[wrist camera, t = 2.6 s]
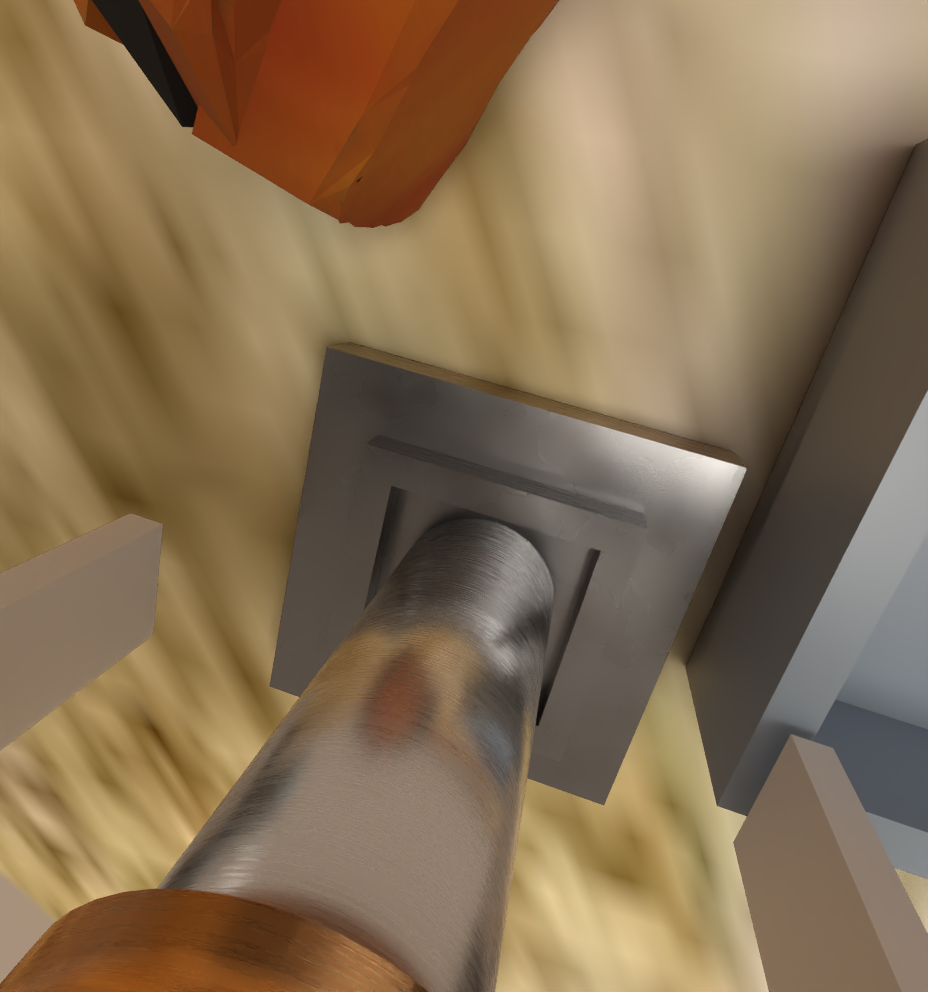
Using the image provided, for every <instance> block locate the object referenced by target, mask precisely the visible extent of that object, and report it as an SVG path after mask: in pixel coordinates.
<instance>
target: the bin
mask: <svg viewBox="0 0 928 992" xmlns="http://www.w3.org/2000/svg"><path fill="white" fill-rule="evenodd" d="M686 672H687V676H688V681H689V685H690V689H691V694H692V698H693V703H694V707H695V711H696V716H697V720H698V724H699V729H700V733H701V738H702V742H703V746H704V751H705V755H706V760H707V764H708V768H709V773H710V777H711V782H712V786H713V790H714V795H715V799H716V804H717V806H719V807H722V808H725V809H728V810H731V811H733V812H736V813H739V814H742V815H745V816H748V814H749V812H750V810H751V808H752V806H753V804H754V803H755V801H756V799H757V797H758V795H759V793H760V791H761V789H762V788H763V786H764V784H765V782H766V780H767V778H768V776H769V774H770V773H771V771H772V769H773V767H774V765H775V763H776V761H777V759H778V757H779V756H780V754H781V752H782V750H783V748H784V746H785V744H786V742H787V741H788V739H789V737H790V735H791V734H792V735H795V736H798V737H801V738H804V739H807V740H810V741H813V742H816V743H819V744H822V745H825V746H828V747H831V748H833V749H834V751H835V753H836V755H837V757H838V759H839V761H840V763H841V765H842V767H843V769H844V770H845V772H846V774H847V776H848V778H849V780H850V782H851V784H852V786H853V788H854V790H855V792H856V794H857V796H858V798H859V800H860V802H861V804H862V806H863V808H864V810H865V812H866V814H867V816H868V818H869V820H870V822H871V824H872V825H873V827H874V829H875V831H876V833H877V835H878V837H879V839H880V841H881V843H882V845H883V847H884V849H885V851H886V853H887V855H888V857H889V859H890V861H891V863H892V865H893V867H894V868H897V869H900V870H903V871H905V872H908V873H911V874H914V875H917V876H920V877H923V878H926V879H928V139H927V140H925V141H923V142H921V143H919V144H916V146H915V148H914V150H913V152H912V155H911V157H910V159H909V161H908V164H907V166H906V168H905V171H904V173H903V175H902V177H901V180H900V182H899V184H898V186H897V189H896V191H895V193H894V196H893V198H892V200H891V202H890V205H889V207H888V209H887V211H886V214H885V216H884V218H883V221H882V223H881V225H880V227H879V230H878V232H877V234H876V236H875V239H874V241H873V243H872V246H871V248H870V250H869V252H868V255H867V257H866V259H865V261H864V264H863V266H862V268H861V270H860V273H859V275H858V277H857V280H856V282H855V284H854V286H853V289H852V291H851V293H850V295H849V298H848V300H847V302H846V305H845V307H844V309H843V311H842V314H841V316H840V318H839V320H838V323H837V325H836V327H835V330H834V332H833V334H832V336H831V339H830V341H829V343H828V345H827V348H826V350H825V352H824V355H823V357H822V359H821V361H820V364H819V366H818V368H817V370H816V373H815V375H814V377H813V380H812V382H811V384H810V386H809V389H808V391H807V393H806V395H805V398H804V400H803V402H802V404H801V407H800V409H799V411H798V414H797V416H796V418H795V420H794V423H793V425H792V427H791V429H790V432H789V434H788V436H787V439H786V441H785V443H784V445H783V448H782V450H781V452H780V454H779V457H778V459H777V461H776V464H775V466H774V468H773V470H772V473H771V475H770V477H769V479H768V482H767V484H766V486H765V489H764V491H763V493H762V495H761V498H760V500H759V502H758V504H757V507H756V509H755V511H754V514H753V516H752V518H751V520H750V523H749V525H748V527H747V529H746V532H745V534H744V536H743V538H742V541H741V543H740V545H739V548H738V550H737V552H736V554H735V557H734V559H733V561H732V563H731V566H730V568H729V570H728V573H727V575H726V577H725V579H724V582H723V584H722V586H721V588H720V591H719V593H718V595H717V598H716V600H715V602H714V604H713V607H712V609H711V611H710V613H709V616H708V618H707V620H706V623H705V625H704V627H703V629H702V632H701V634H700V636H699V638H698V641H697V643H696V645H695V648H694V650H693V652H692V654H691V657H690V659H689V661H688V663H687V666H686Z"/></svg>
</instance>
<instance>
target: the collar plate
mask: <svg viewBox="0 0 928 992" xmlns="http://www.w3.org/2000/svg"><path fill="white" fill-rule="evenodd" d="M746 470H747V467H746V466H745V465H744V464H743V463H742V461H741V460H740V459H739V458H738V457H737V455H736V454H735V453H734V452H731V451H728V450H724V449H721V448H717V447H714V446H710V445H707V444H703V443H700V442H696V441H693V440H689V439H686V438H682V437H679V436H675V435H672V434H668V433H665V432H661V431H658V430H654V429H651V428H647V427H644V426H640V425H637V424H633V423H630V422H626V421H623V420H619V419H616V418H612V417H609V416H605V415H602V414H598V413H595V412H591V411H588V410H584V409H581V408H577V407H574V406H570V405H567V404H563V403H560V402H556V401H553V400H549V399H546V398H542V397H539V396H535V395H532V394H528V393H525V392H521V391H518V390H514V389H511V388H507V387H504V386H500V385H497V384H493V383H490V382H486V381H483V380H479V379H476V378H472V377H469V376H465V375H462V374H458V373H455V372H451V371H448V370H444V369H441V368H437V367H434V366H430V365H427V364H423V363H420V362H416V361H413V360H410V359H406V358H403V357H399V356H396V355H392V354H389V353H385V352H382V351H378V350H375V349H371V348H368V347H364V346H361V345H357V344H354V343H345V344H340V345H335V346H329V347H327V349H326V355H325V361H324V367H323V373H322V378H321V384H320V390H319V396H318V402H317V408H316V414H315V420H314V426H313V432H312V438H311V444H310V450H309V456H308V462H307V467H306V473H305V479H304V485H303V491H302V497H301V503H300V509H299V515H298V521H297V527H296V533H295V539H294V545H293V551H292V557H291V562H290V568H289V574H288V580H287V586H286V592H285V598H284V604H283V610H282V616H281V622H280V628H279V634H278V640H277V646H276V651H275V657H274V663H273V669H272V675H271V681H270V687H273V688H276V689H279V690H281V691H284V692H287V693H290V694H293V695H295V696H298V697H300V696H301V695H302V693H303V692H304V691H305V689H306V688H307V687H308V685H309V684H310V683H311V681H312V680H313V679H314V677H315V676H316V675H317V673H318V672H319V671H320V669H321V668H322V667H323V665H324V664H325V662H326V661H327V660H328V658H329V657H330V656H331V654H332V653H333V652H334V650H335V649H336V648H337V646H338V645H339V644H340V642H341V641H342V640H343V638H344V637H345V636H346V634H347V633H348V632H349V630H350V629H351V628H352V626H353V625H354V624H355V622H356V621H357V620H358V618H359V617H360V616H361V614H362V613H363V611H364V610H365V609H366V607H367V606H368V605H369V603H370V602H371V601H372V599H373V598H374V597H375V595H376V594H377V593H378V591H379V590H380V589H381V587H382V586H383V585H384V583H385V582H386V581H387V579H388V578H389V577H390V575H391V574H392V573H393V571H394V570H395V569H396V567H397V566H398V565H399V563H400V562H401V560H402V559H403V558H404V556H405V555H406V554H407V552H408V551H409V550H410V548H411V547H412V546H413V544H414V543H415V542H416V541H417V540H418V539H419V538H420V537H421V536H422V535H424V534H425V533H426V532H427V531H429V530H431V529H432V528H434V527H436V526H438V525H440V524H443V523H445V522H449V521H453V520H459V519H481V520H487V521H491V522H495V523H498V524H501V525H503V526H506V527H508V528H510V529H511V530H513V531H515V532H517V533H518V534H519V535H521V536H522V537H524V538H525V539H526V540H527V541H528V542H529V543H530V544H532V546H533V547H534V548H535V549H536V550H537V551H538V553H539V554H540V556H541V557H542V558H543V560H544V562H545V564H546V566H547V568H548V570H549V573H550V576H551V579H552V583H553V589H554V603H553V611H552V617H551V624H550V631H549V637H548V644H547V651H546V657H545V664H544V670H543V677H542V684H541V690H540V697H539V704H538V710H537V717H536V724H535V730H534V737H533V743H532V750H531V757H530V763H529V770H528V777H527V778H529V779H531V780H534V781H537V782H540V783H543V784H546V785H548V786H551V787H554V788H557V789H560V790H562V791H565V792H568V793H571V794H574V795H576V796H579V797H582V798H585V799H588V800H590V801H593V802H596V803H599V804H602V805H604V804H605V801H606V799H607V797H608V794H609V792H610V790H611V787H612V785H613V783H614V780H615V778H616V776H617V773H618V771H619V769H620V766H621V764H622V761H623V759H624V757H625V754H626V752H627V750H628V747H629V745H630V743H631V740H632V738H633V736H634V733H635V731H636V729H637V726H638V724H639V721H640V719H641V717H642V714H643V712H644V710H645V707H646V705H647V703H648V700H649V698H650V696H651V693H652V691H653V689H654V686H655V684H656V681H657V679H658V677H659V674H660V672H661V670H662V667H663V665H664V663H665V660H666V658H667V656H668V653H669V651H670V649H671V646H672V644H673V641H674V639H675V637H676V634H677V632H678V630H679V627H680V625H681V623H682V620H683V618H684V616H685V613H686V611H687V609H688V606H689V604H690V601H691V599H692V597H693V594H694V592H695V590H696V587H697V585H698V583H699V580H700V578H701V576H702V573H703V571H704V569H705V566H706V564H707V561H708V559H709V557H710V554H711V552H712V550H713V547H714V545H715V543H716V540H717V538H718V536H719V533H720V531H721V529H722V526H723V524H724V521H725V519H726V517H727V514H728V512H729V510H730V507H731V505H732V503H733V500H734V498H735V496H736V493H737V491H738V489H739V486H740V484H741V481H742V479H743V477H744V474H745V472H746Z"/></svg>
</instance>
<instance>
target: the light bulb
mask: <svg viewBox="0 0 928 992" xmlns="http://www.w3.org/2000/svg"><path fill="white" fill-rule="evenodd" d="M553 603H554V589H553V583H552V579H551V576H550V573H549V570H548V568H547V566H546V564H545V562H544V560H543V558H542V557H541V556H540V554H539V553H538V551H537V550H536V549H535V548H534V547H533V546H532V544H530V543H529V542H528V541H527V540H526V539H525V538H524V537H522V536H521V535H519V534H518V533H517V532H515V531H513V530H511V529H510V528H508V527H506V526H503V525H501V524H498V523H495V522H491V521H487V520H481V519H459V520H453V521H449V522H445V523H443V524H440V525H438V526H436V527H434V528H432V529H431V530H429V531H427V532H426V533H425V534H424V535H422V536H421V537H420V538H419V539H418V540H417V541H416V542H415V543H414V544H413V546H412V547H411V548H410V550H409V551H408V552H407V554H406V555H405V556H404V558H403V559H402V560H401V562H400V563H399V565H398V566H397V567H396V569H395V570H394V571H393V573H392V574H391V575H390V577H389V578H388V579H387V581H386V582H385V583H384V585H383V586H382V587H381V589H380V590H379V591H378V593H377V594H376V595H375V597H374V598H373V599H372V601H371V602H370V603H369V605H368V606H367V607H366V609H365V610H364V611H363V613H362V614H361V616H360V617H359V618H358V620H357V621H356V622H355V624H354V625H353V626H352V628H351V629H350V630H349V632H348V633H347V634H346V636H345V637H344V638H343V640H342V641H341V642H340V644H339V645H338V646H337V648H336V649H335V650H334V652H333V653H332V654H331V656H330V657H329V658H328V660H327V661H326V662H325V664H324V665H323V667H322V668H321V669H320V671H319V672H318V673H317V675H316V676H315V677H314V679H313V680H312V681H311V683H310V684H309V685H308V687H307V688H306V689H305V691H304V692H303V693H302V695H301V696H300V697H299V699H298V700H297V701H296V703H295V704H294V705H293V707H292V708H291V709H290V711H289V712H288V713H287V715H286V716H285V718H284V719H283V720H282V722H281V723H280V724H279V726H278V727H277V728H276V730H275V731H274V732H273V734H272V735H271V736H270V738H269V739H268V740H267V742H266V743H265V744H264V746H263V747H262V748H261V750H260V751H259V752H258V754H257V755H256V756H255V758H254V759H253V760H252V762H251V763H250V765H249V766H248V767H247V769H246V770H245V771H244V773H243V774H242V775H241V777H240V778H239V779H238V781H237V782H236V783H235V785H234V786H233V787H232V789H231V790H230V791H229V793H228V794H227V795H226V797H225V798H224V799H223V801H222V802H221V803H220V805H219V806H218V807H217V809H216V810H215V811H214V813H213V814H212V816H211V817H210V818H209V820H208V821H207V822H206V824H205V825H204V826H203V828H202V829H201V830H200V832H199V833H198V834H197V836H196V837H195V838H194V840H193V841H192V842H191V844H190V845H189V846H188V848H187V849H186V850H185V852H184V853H183V854H182V856H181V857H180V858H179V860H178V861H177V862H176V864H175V865H174V867H173V868H172V869H171V871H170V872H169V873H168V875H167V876H166V877H165V879H164V880H163V881H162V883H161V884H160V885H159V887H158V888H157V889H148V890H139V891H130V892H122V893H118V894H115V895H111V896H107V897H103V898H99V899H96V900H93V901H91V902H89V903H87V904H85V905H83V906H80V907H78V908H76V909H74V910H72V911H70V912H69V913H68V914H66V915H65V916H63V917H62V918H61V919H59V920H58V921H56V922H55V923H54V924H52V926H51V927H50V928H49V929H48V930H47V931H46V932H45V933H44V934H43V935H42V937H41V938H40V939H39V940H38V941H37V942H36V944H34V946H33V947H32V948H31V949H30V950H29V951H28V953H27V954H26V955H25V956H24V957H23V958H22V959H21V961H20V962H19V963H18V964H17V965H16V966H15V968H14V969H13V970H12V971H11V972H10V973H9V974H8V975H7V977H6V978H5V979H4V980H3V981H2V982H1V984H0V992H495V989H496V982H497V975H498V969H499V962H500V956H501V949H502V942H503V936H504V929H505V922H506V916H507V909H508V903H509V896H510V889H511V883H512V876H513V869H514V863H515V856H516V849H517V843H518V836H519V830H520V823H521V816H522V810H523V803H524V796H525V790H526V783H527V777H528V770H529V763H530V757H531V750H532V743H533V737H534V730H535V724H536V717H537V710H538V704H539V697H540V690H541V684H542V677H543V670H544V664H545V657H546V651H547V644H548V637H549V631H550V624H551V617H552V611H553Z"/></svg>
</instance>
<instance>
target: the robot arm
mask: <svg viewBox="0 0 928 992" xmlns="http://www.w3.org/2000/svg"><path fill="white" fill-rule="evenodd" d="M162 530H163V524H161V523H158V522H155V521H152V520H149V519H146V518H143V517H140V516H137V515H134V514H131V513H130V514H128V515H125V516H123V517H121V518H119V519H117V520H115V521H112V522H110V523H108V524H106V525H104V526H102V527H99V528H97V529H95V530H93V531H91V532H89V533H86V534H84V535H82V536H80V537H78V538H75V539H73V540H71V541H69V542H67V543H65V544H62V545H60V546H58V547H56V548H54V549H52V550H49V551H47V552H45V553H43V554H41V555H39V556H36V557H34V558H32V559H30V560H28V561H26V562H23V563H21V564H19V565H17V566H15V567H13V568H10V569H8V570H6V571H4V572H2V573H0V750H2V749H3V748H4V747H6V746H7V745H8V744H10V743H11V742H12V741H14V740H15V739H16V738H18V737H19V736H20V735H22V734H23V733H24V732H26V731H27V730H28V729H30V728H31V727H32V726H34V725H35V724H36V723H37V722H39V721H40V720H41V719H43V718H44V717H45V716H47V715H48V714H49V713H51V712H52V711H53V710H55V709H56V708H57V707H59V706H60V705H61V704H63V703H64V702H65V701H67V700H68V699H69V698H71V697H72V696H73V695H75V694H76V693H77V692H79V691H80V690H81V689H82V688H84V687H85V686H86V685H88V684H89V683H90V682H92V681H93V680H94V679H96V678H97V677H98V676H100V675H101V674H102V673H104V672H105V671H106V670H108V669H109V668H110V667H112V666H113V665H114V664H116V663H117V662H118V661H120V660H121V659H122V658H123V657H125V656H126V655H127V654H129V653H130V652H131V651H133V650H134V649H135V648H137V647H138V646H139V645H141V644H142V643H143V642H145V641H146V640H147V639H149V638H150V637H151V636H153V631H154V620H155V609H156V597H157V586H158V575H159V564H160V553H161V541H162ZM733 843H734V847H735V851H736V855H737V860H738V864H739V868H740V872H741V876H742V881H743V885H744V889H745V893H746V897H747V901H748V906H749V910H750V914H751V918H752V922H753V927H754V931H755V935H756V939H757V943H758V947H759V952H760V956H761V960H762V964H763V968H764V973H765V977H766V981H767V985H768V989H769V992H928V934H927V932H926V930H925V928H924V926H923V924H922V922H921V920H920V918H919V916H918V914H917V912H916V910H915V908H914V906H913V904H912V902H911V900H910V898H909V896H908V894H907V892H906V890H905V888H904V886H903V884H902V882H901V880H900V879H899V877H898V875H897V873H896V871H895V869H894V867H893V865H892V863H891V861H890V859H889V857H888V855H887V853H886V851H885V849H884V847H883V845H882V843H881V841H880V839H879V837H878V835H877V833H876V831H875V829H874V827H873V825H872V824H871V822H870V820H869V818H868V816H867V814H866V812H865V810H864V808H863V806H862V804H861V802H860V800H859V798H858V796H857V794H856V792H855V790H854V788H853V786H852V784H851V782H850V780H849V778H848V776H847V774H846V772H845V770H844V769H843V767H842V765H841V763H840V761H839V759H838V757H837V755H836V753H835V751H834V749H833V748H831V747H828V746H825V745H822V744H819V743H816V742H813V741H810V740H807V739H804V738H801V737H798V736H795V735H792V734H791V735H790V737H789V739H788V741H787V742H786V744H785V746H784V748H783V750H782V752H781V754H780V756H779V757H778V759H777V761H776V763H775V765H774V767H773V769H772V771H771V773H770V774H769V776H768V778H767V780H766V782H765V784H764V786H763V788H762V789H761V791H760V793H759V795H758V797H757V799H756V801H755V803H754V804H753V806H752V808H751V810H750V812H749V814H748V816H747V818H746V820H745V821H744V823H743V825H742V827H741V829H740V831H739V833H738V835H737V836H736V838H735V840H734V842H733Z"/></svg>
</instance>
